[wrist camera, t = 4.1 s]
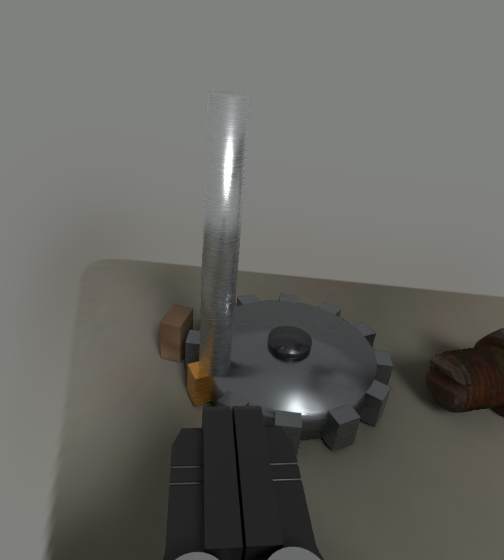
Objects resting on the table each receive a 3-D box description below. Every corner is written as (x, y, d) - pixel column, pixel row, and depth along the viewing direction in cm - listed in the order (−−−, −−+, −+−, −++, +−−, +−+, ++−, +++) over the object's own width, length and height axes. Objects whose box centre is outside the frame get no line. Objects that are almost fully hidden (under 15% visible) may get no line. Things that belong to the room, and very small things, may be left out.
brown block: (192, 342, 28) (193, 308, 27) (179, 362, 26) (180, 327, 25) (174, 338, 28) (174, 304, 27) (160, 357, 26) (159, 322, 25)
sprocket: (314, 303, 32) (355, 81, 25) (430, 415, 24) (542, 125, 16) (160, 335, 28) (154, 73, 20) (234, 488, 19) (271, 128, 12)
